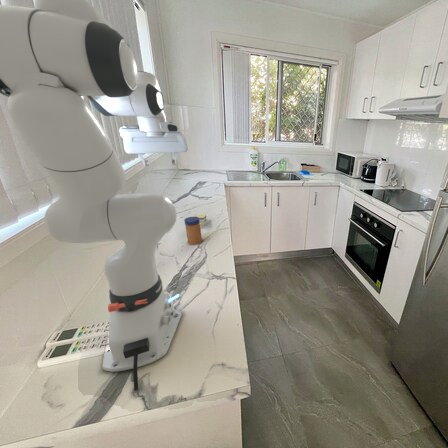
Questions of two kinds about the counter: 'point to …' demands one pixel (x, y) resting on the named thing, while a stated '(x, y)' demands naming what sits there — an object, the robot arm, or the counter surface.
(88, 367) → the counter surface
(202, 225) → the stacked layers on plate
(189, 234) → the jar
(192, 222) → the lid
